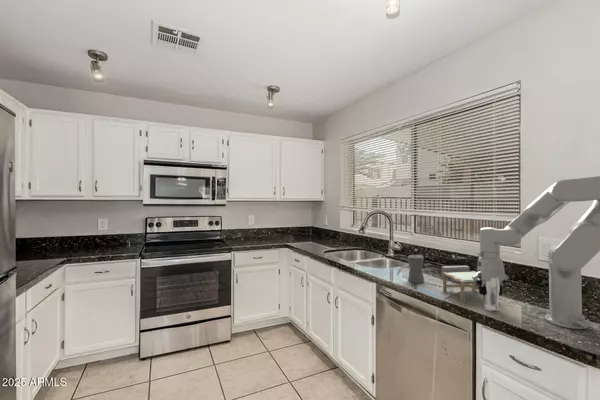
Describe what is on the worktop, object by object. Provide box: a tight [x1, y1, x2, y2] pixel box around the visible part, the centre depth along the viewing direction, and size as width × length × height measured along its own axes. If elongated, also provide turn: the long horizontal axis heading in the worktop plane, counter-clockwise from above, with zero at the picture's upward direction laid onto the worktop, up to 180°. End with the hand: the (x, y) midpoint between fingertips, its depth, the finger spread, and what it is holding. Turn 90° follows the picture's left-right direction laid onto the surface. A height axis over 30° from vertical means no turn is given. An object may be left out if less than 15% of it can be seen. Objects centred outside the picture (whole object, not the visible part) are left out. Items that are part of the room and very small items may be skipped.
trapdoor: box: [440, 265, 479, 283], centre depth 150 cm, size 20×14×5 cm
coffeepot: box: [407, 251, 426, 284], centre depth 175 cm, size 15×9×18 cm, turn 121°
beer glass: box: [482, 278, 500, 312], centre depth 130 cm, size 7×7×15 cm
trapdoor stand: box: [442, 270, 477, 304], centre depth 147 cm, size 17×17×10 cm
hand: (490, 294), depth 130 cm, fingers closed on beer glass, 6 cm apart
